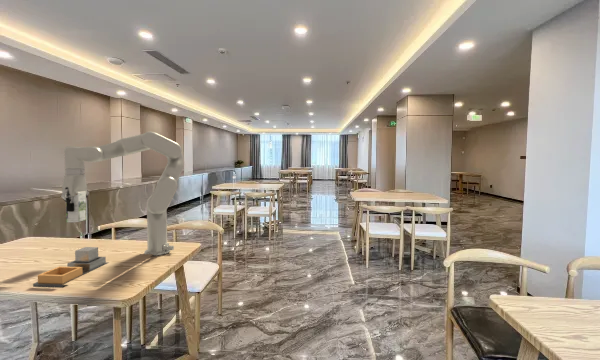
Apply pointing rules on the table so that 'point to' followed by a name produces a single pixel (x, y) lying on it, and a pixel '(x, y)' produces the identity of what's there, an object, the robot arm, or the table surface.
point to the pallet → (67, 273)
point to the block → (86, 255)
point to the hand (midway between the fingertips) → (76, 209)
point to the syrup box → (77, 208)
